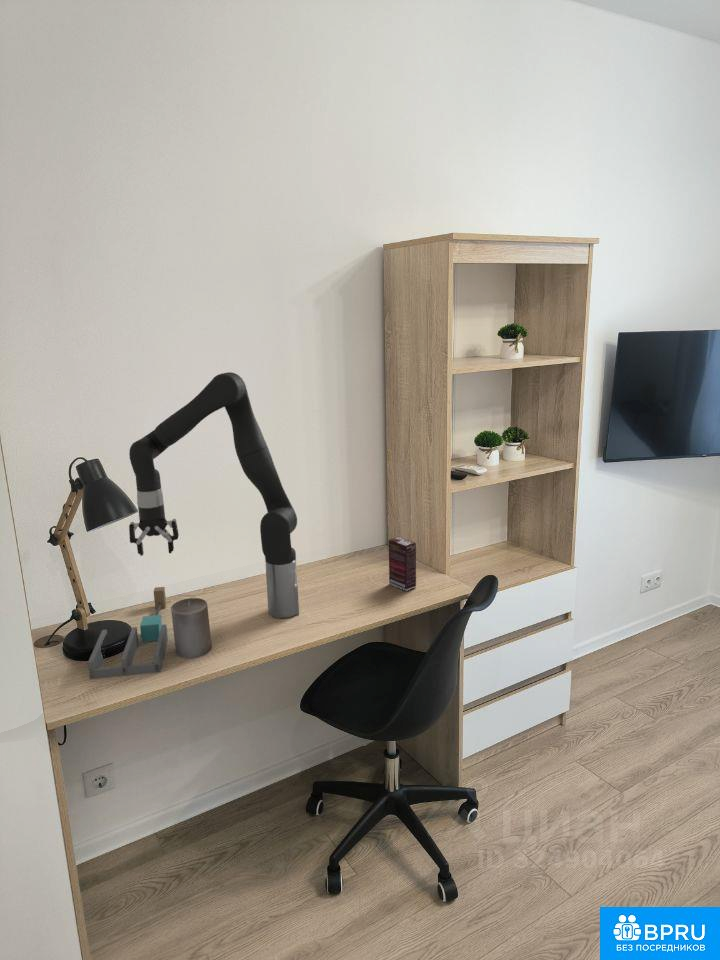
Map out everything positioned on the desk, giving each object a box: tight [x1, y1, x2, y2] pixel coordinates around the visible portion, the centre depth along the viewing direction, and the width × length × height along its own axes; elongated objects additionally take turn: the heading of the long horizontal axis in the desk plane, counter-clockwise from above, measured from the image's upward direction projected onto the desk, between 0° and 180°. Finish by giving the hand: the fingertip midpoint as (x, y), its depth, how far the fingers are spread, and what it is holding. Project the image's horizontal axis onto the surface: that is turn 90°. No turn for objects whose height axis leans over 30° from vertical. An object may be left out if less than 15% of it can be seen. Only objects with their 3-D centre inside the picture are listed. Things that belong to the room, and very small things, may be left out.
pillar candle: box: [170, 597, 213, 659], centre depth 189 cm, size 10×10×15 cm
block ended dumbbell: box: [139, 586, 167, 643], centre depth 208 cm, size 5×24×6 cm, turn 9°
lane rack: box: [87, 624, 169, 680], centre depth 187 cm, size 17×18×5 cm
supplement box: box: [388, 536, 417, 592], centre depth 229 cm, size 9×5×16 cm, turn 40°
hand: (156, 553), depth 214 cm, fingers open, 8 cm apart
